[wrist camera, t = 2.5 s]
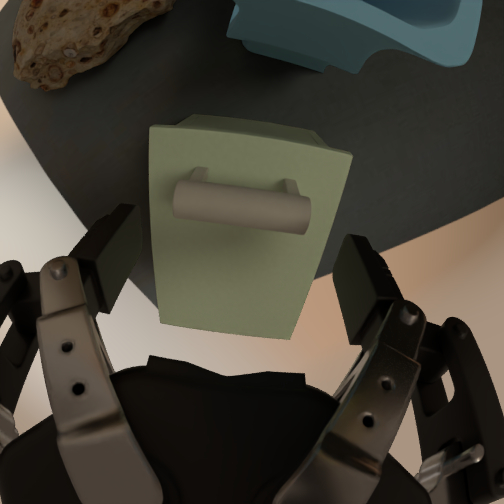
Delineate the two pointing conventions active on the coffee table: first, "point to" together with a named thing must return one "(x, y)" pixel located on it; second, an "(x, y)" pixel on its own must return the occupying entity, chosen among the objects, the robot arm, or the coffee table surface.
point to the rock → (73, 36)
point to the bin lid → (238, 226)
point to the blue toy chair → (356, 30)
